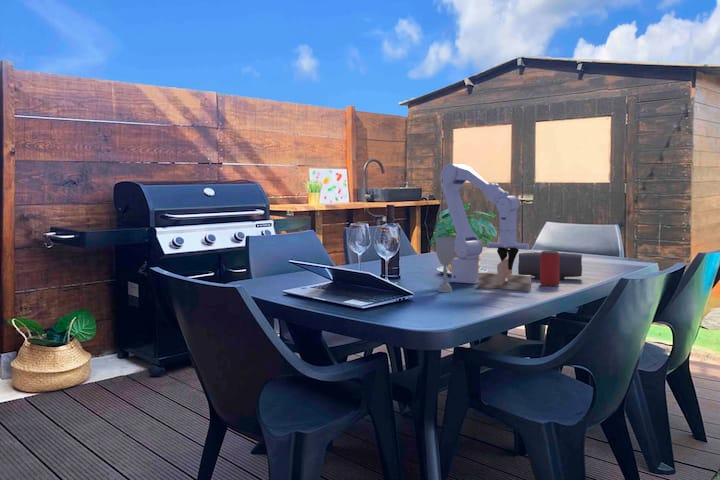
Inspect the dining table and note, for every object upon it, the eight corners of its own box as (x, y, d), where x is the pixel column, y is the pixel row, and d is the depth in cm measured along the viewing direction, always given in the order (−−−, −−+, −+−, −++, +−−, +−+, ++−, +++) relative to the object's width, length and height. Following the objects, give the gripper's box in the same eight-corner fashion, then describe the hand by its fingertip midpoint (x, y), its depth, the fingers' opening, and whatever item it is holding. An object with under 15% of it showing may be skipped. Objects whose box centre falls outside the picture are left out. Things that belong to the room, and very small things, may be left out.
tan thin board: (498, 285, 207) (497, 265, 205) (508, 274, 217) (507, 255, 215) (501, 285, 206) (500, 265, 205) (512, 274, 216) (511, 255, 214)
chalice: (431, 291, 206) (431, 238, 204) (438, 288, 212) (438, 236, 210) (452, 293, 202) (452, 238, 201) (458, 290, 208) (458, 237, 207)
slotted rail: (478, 286, 215) (478, 272, 214) (480, 286, 216) (480, 272, 216) (529, 290, 205) (529, 276, 205) (531, 290, 207) (531, 275, 207)
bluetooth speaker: (517, 279, 231) (518, 253, 230) (519, 275, 240) (519, 250, 239) (581, 281, 225) (582, 254, 224) (580, 277, 234) (581, 251, 233)
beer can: (554, 287, 212) (555, 252, 211) (536, 285, 216) (536, 251, 215) (562, 284, 217) (562, 251, 216) (544, 283, 221) (544, 250, 220)
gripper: (483, 230, 212) (483, 269, 214) (525, 231, 205) (525, 272, 206) (490, 229, 219) (490, 267, 220) (531, 230, 211) (530, 269, 212)
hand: (507, 269), depth 213 cm, fingers closed on tan thin board, 1 cm apart
